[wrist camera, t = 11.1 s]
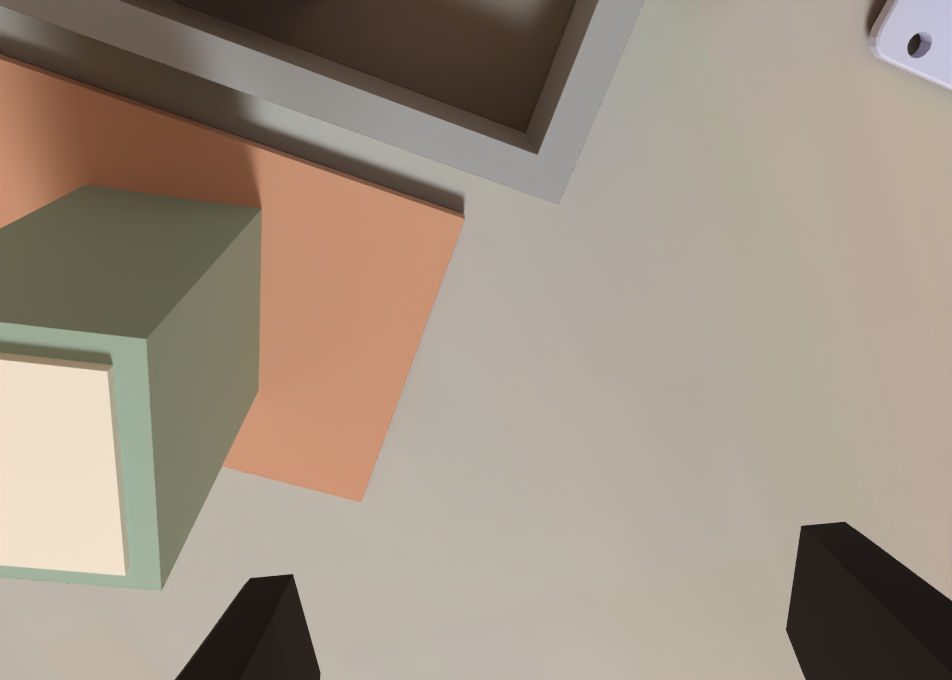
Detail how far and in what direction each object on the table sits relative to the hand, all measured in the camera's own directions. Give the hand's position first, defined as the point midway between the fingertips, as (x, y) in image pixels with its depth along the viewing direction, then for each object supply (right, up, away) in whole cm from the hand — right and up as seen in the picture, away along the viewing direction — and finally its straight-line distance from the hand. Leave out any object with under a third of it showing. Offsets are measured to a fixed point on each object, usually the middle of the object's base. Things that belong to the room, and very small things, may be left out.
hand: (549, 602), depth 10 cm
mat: (-9, +5, +8) cm, 13 cm away
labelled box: (-8, +5, +7) cm, 12 cm away
